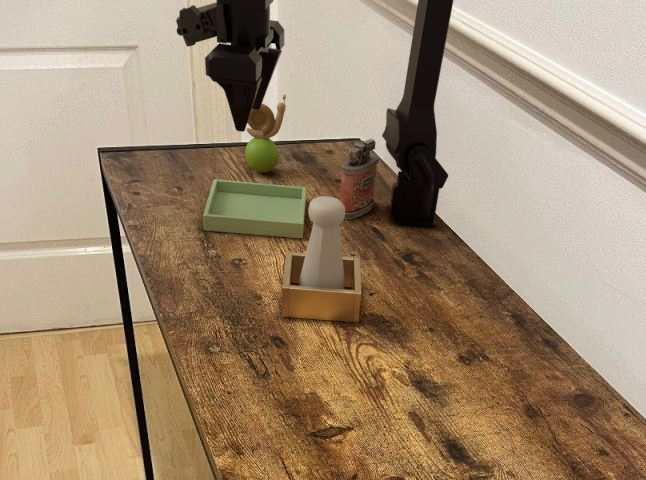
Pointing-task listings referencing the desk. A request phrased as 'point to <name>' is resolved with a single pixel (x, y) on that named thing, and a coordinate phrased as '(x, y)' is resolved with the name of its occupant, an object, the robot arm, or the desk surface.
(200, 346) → the desk surface
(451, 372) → the desk surface
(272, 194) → the tray
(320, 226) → the salt shaker
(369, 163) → the lighter
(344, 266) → the open brown box
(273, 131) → the snail figurine
